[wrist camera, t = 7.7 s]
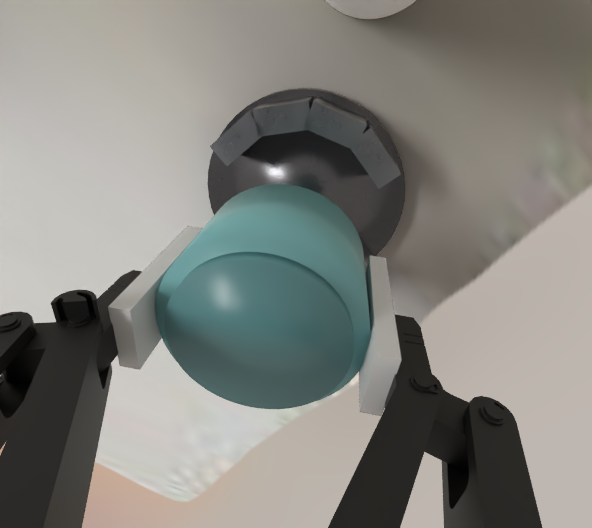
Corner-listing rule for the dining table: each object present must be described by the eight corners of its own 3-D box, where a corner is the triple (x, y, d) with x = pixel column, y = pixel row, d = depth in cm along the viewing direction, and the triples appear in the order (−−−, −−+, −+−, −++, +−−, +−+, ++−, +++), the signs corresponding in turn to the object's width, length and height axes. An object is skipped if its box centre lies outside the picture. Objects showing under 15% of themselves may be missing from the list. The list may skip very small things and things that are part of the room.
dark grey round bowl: (211, 74, 23) (186, 78, 20) (428, 103, 22) (442, 112, 19) (213, 259, 30) (195, 285, 27) (378, 287, 30) (381, 317, 26)
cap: (197, 177, 16) (127, 232, 11) (375, 190, 16) (390, 255, 10) (211, 317, 20) (165, 405, 15) (353, 332, 20) (356, 430, 14)
